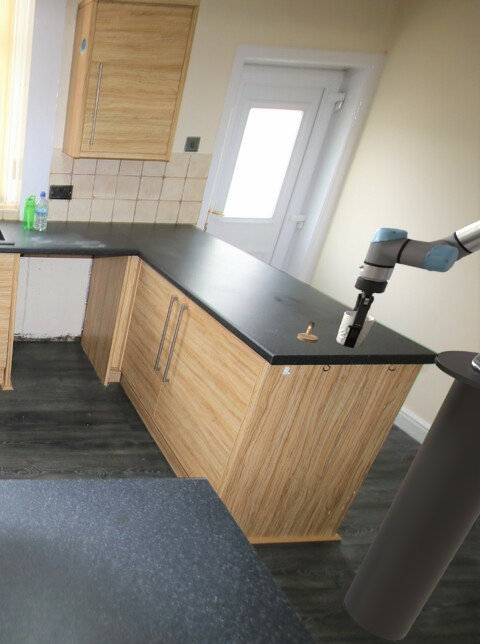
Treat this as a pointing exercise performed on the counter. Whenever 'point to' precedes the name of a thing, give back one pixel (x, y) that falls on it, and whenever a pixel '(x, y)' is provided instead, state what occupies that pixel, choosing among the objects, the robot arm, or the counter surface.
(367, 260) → the robot arm
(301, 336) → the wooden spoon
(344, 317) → the white cup
